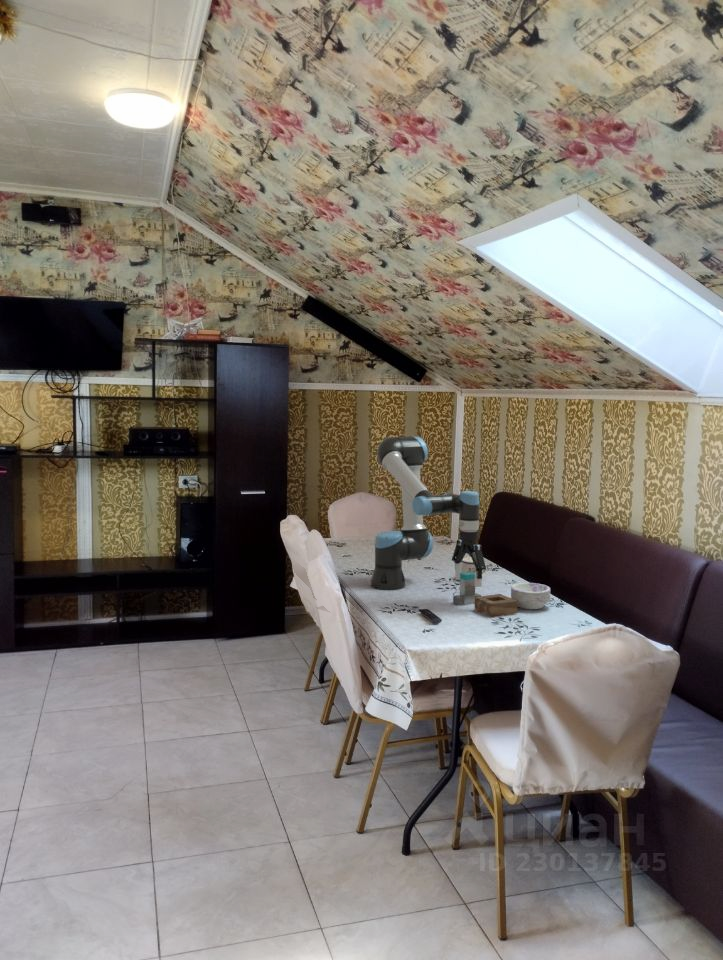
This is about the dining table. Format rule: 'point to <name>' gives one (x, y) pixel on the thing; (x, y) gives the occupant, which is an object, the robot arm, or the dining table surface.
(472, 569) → the teacup with lid
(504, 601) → the port
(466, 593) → the plug
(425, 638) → the dining table surface
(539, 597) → the white floral bowl
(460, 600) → the pair of grey prisms
